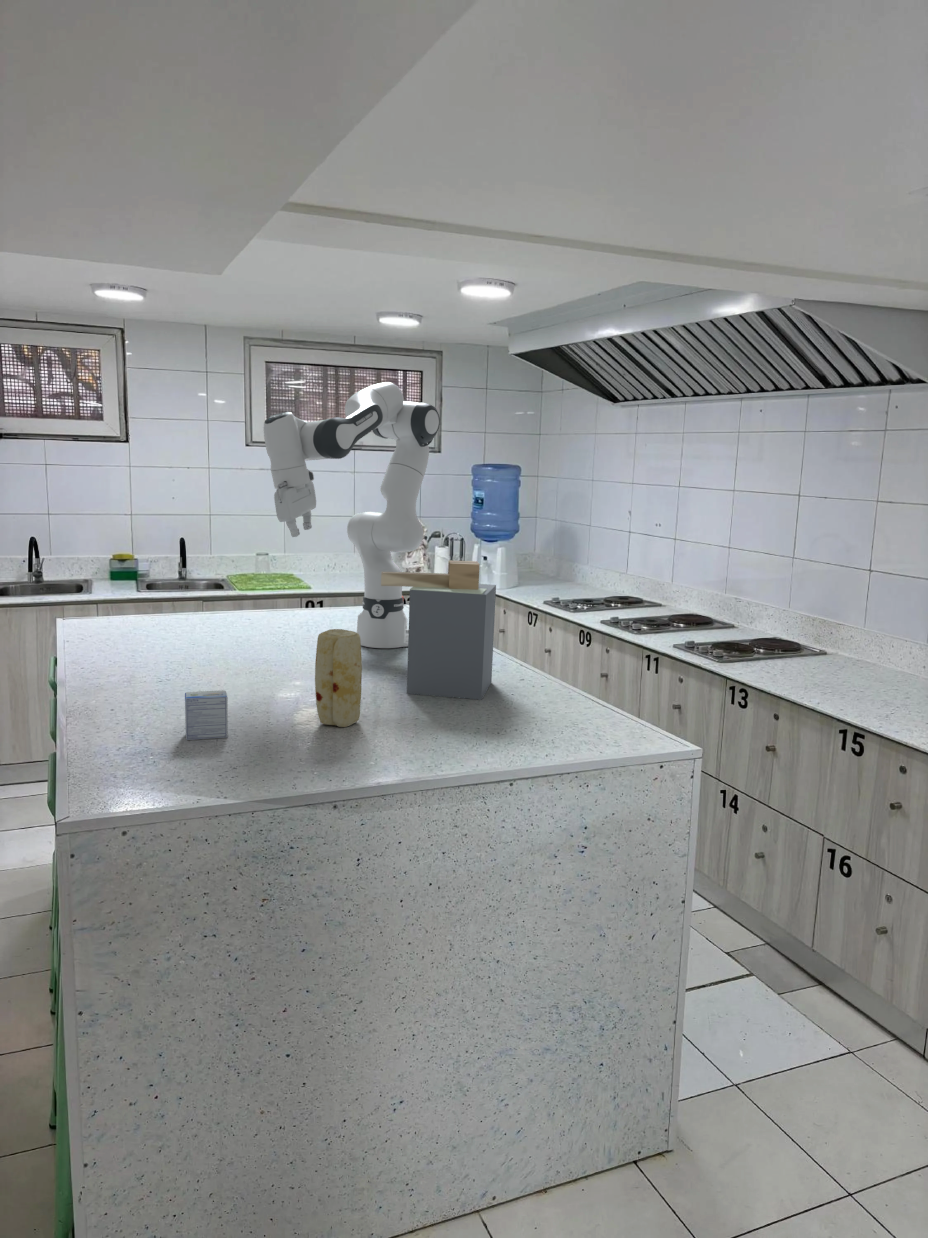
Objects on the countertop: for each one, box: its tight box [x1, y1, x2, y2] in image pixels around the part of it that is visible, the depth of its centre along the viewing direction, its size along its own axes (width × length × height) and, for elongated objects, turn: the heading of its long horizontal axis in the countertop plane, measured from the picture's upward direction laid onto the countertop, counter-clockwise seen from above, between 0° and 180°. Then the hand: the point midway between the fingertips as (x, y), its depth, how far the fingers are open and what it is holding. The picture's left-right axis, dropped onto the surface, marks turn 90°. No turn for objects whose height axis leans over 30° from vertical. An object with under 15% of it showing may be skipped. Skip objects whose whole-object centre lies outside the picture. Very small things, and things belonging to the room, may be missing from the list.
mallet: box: [381, 560, 480, 590], centre depth 210 cm, size 6×23×6 cm, turn 94°
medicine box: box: [184, 689, 229, 741], centre depth 172 cm, size 8×4×9 cm, turn 108°
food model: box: [314, 628, 363, 728], centre depth 182 cm, size 10×7×20 cm
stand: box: [406, 583, 497, 701], centre depth 214 cm, size 17×18×25 cm
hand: (302, 532), depth 225 cm, fingers open, 8 cm apart
